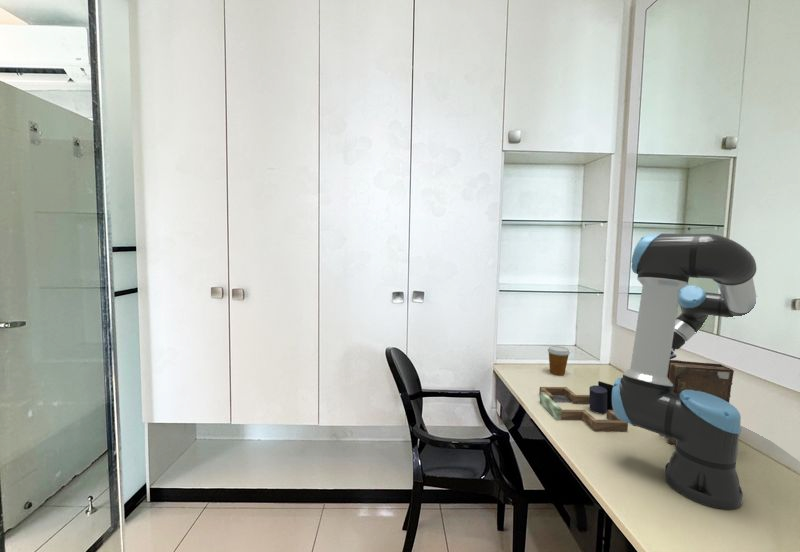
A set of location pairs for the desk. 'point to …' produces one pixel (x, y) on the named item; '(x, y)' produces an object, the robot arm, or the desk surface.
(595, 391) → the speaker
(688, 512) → the desk surface
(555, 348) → the disposable coffee cup
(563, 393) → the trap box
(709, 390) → the book
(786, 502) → the desk surface
